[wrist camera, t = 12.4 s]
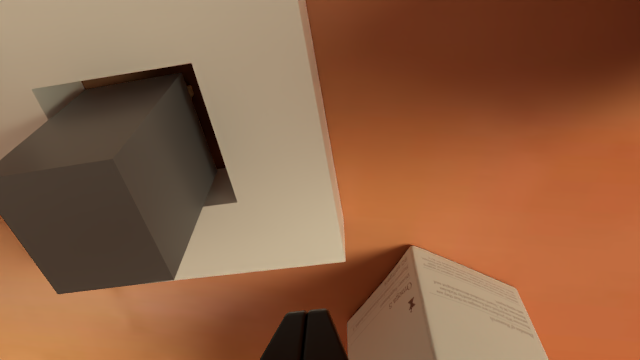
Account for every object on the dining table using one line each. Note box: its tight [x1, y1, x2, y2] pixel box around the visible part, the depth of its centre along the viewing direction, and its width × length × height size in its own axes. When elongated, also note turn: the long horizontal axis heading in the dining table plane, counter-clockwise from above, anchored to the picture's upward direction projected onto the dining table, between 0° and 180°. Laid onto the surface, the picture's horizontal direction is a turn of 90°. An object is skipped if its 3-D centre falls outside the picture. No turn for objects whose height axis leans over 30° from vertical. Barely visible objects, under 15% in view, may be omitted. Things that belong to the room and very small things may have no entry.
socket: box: [0, 0, 346, 285], centre depth 18 cm, size 14×14×4 cm
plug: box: [0, 72, 217, 294], centre depth 16 cm, size 4×4×8 cm
